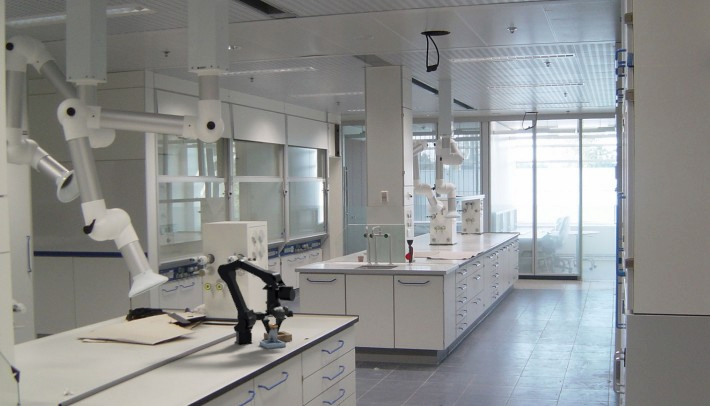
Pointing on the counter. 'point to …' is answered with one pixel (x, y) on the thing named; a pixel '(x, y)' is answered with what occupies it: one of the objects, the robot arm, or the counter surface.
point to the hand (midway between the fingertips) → (272, 333)
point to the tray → (272, 344)
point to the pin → (272, 333)
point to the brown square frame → (281, 336)
